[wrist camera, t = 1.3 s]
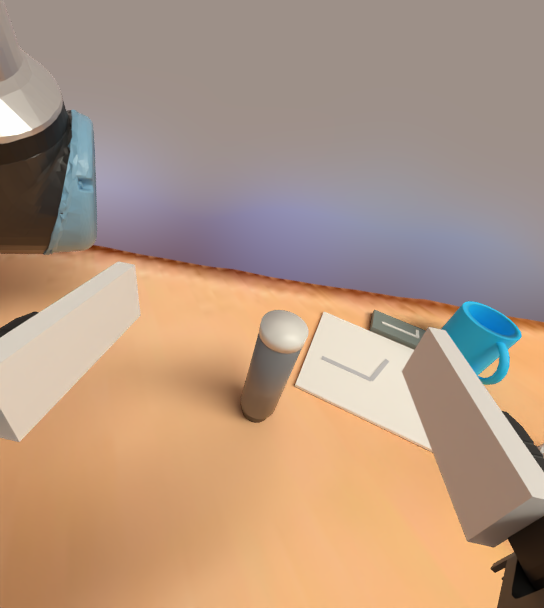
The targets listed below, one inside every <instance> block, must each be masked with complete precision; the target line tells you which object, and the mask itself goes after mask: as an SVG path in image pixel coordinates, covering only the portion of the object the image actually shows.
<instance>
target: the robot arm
mask: <svg viewBox="0 0 544 608" xmlns="http://www.w3.org/2000/svg"><path fill="white" fill-rule="evenodd" d="M96 203H97V202H96V173H95V148H94V132H93V123H92V121H91V120H90V118H89V117H87V116H85V115H83V114H80V113H78V112H77V111H75V110H69V111H66V109H65V106H64V102H63V98H62V94H61V91H60V89H59V87H58V84H57V82H56V80H55V79H54V77H53V76H52V75H51V73H49V71H48V70H47V69H46V68H45V67H43V66H42V65H41V64H40V63H39V62H37V61H36V60H35V59H33V58H32V57H31V56H30V55H28V54H27V53H26V52H25V51H23V50H22V49H21V48H20V47H19V45H18V42H17V39H16V36H15V33H14V30H13V27H12V25H11V21H10V18H9V15H8V12H7V10H6V7H5V4H4V1H3V0H0V254H44V255H50V254H52V253H54V252H73V251H83V250H86V249H88V248H90V247H91V246H92V245H93V244H94V243H95V241H96V237H97V204H96ZM139 316H140V306H139V297H138V288H137V279H136V269H135V265H133V264H128V263H123V262H117V263H115V264H113V265H112V266H110V267H109V268H107V269H106V270H104V271H103V272H101V273H100V274H98V275H96V276H95V277H93V278H92V279H90V280H89V281H87V282H86V283H84V284H83V285H81V286H79V287H78V288H76V289H75V290H73V291H72V292H70V293H69V294H67V295H65V296H64V297H62V298H61V299H59V300H58V301H56V302H55V303H53V304H52V305H50V306H48V307H47V308H45V309H44V310H42V311H41V312H32V313H30V314H27V315H24V316H22V317H19V318H16V319H14V320H13V321H11V322H9V323H8V324H6V325H5V326H3V327H1V328H0V438H4V439H8V440H13V441H17V442H20V441H21V440H22V439H23V438H24V437H25V436H26V435H27V434H28V433H29V432H30V430H31V429H32V428H33V427H34V426H35V425H36V424H37V423H38V422H39V421H40V420H41V419H42V418H43V417H44V416H45V415H46V414H47V413H48V412H49V411H50V410H51V409H52V407H53V406H54V405H55V404H56V403H57V402H58V401H59V400H60V399H61V398H62V397H63V396H64V395H65V394H66V393H67V392H68V391H69V390H70V389H71V388H72V387H73V386H74V384H75V383H76V382H77V381H78V380H79V379H80V378H81V377H82V376H83V375H84V374H85V373H86V372H87V371H88V370H89V369H90V368H91V367H92V366H93V365H94V364H95V363H96V361H97V360H98V359H99V358H100V357H101V356H102V355H103V354H104V353H105V352H106V351H107V350H108V349H109V348H110V347H111V346H112V345H113V344H114V343H115V342H116V341H117V339H118V338H119V337H120V336H121V335H122V334H123V333H124V332H125V331H126V330H127V329H128V328H129V327H130V326H131V325H132V324H133V323H134V322H135V321H136V320H137V319H138V318H139ZM402 373H403V376H404V378H405V381H406V384H407V386H408V389H409V391H410V394H411V397H412V399H413V402H414V404H415V407H416V410H417V412H418V415H419V417H420V420H421V423H422V425H423V428H424V430H425V433H426V436H427V438H428V441H429V443H430V446H431V449H432V451H433V454H434V456H435V459H436V462H437V464H438V467H439V469H440V472H441V475H442V477H443V480H444V482H445V485H446V488H447V490H448V493H449V495H450V498H451V501H452V503H453V506H454V509H455V511H456V514H457V516H458V519H459V522H460V524H461V527H462V529H463V532H464V535H465V537H466V540H467V541H468V542H472V543H477V544H481V545H486V546H490V547H495V546H497V545H499V544H500V543H502V542H504V541H505V540H507V539H508V540H509V542H510V544H511V546H512V548H513V550H514V553H512V554H510V555H508V556H506V557H505V558H503V559H501V560H499V561H497V562H496V563H494V564H493V566H492V567H491V570H492V571H493V572H495V573H496V572H498V571H499V570H501V569H503V568H505V573H504V577H502V580H503V582H502V587H501V592H500V597H499V601H498V606H497V608H544V458H543V454H542V453H541V452H540V450H539V449H538V448H537V446H535V445H534V442H533V441H532V439H531V438H530V437H529V435H528V434H527V432H526V431H525V430H524V428H523V427H522V426H521V425H520V424H519V423H518V422H517V421H516V420H515V419H514V418H512V417H511V416H510V415H509V414H508V413H507V412H504V411H501V410H500V408H499V407H498V405H497V404H496V402H495V401H494V400H493V398H492V397H491V395H490V394H489V392H488V391H487V389H486V388H485V387H484V385H483V384H482V382H481V381H480V379H479V378H478V376H477V375H476V374H475V372H474V371H473V369H472V368H471V366H470V365H469V363H468V362H467V361H466V359H465V358H464V356H463V355H462V353H461V352H460V350H459V349H458V348H457V346H456V345H455V343H454V342H453V340H452V339H451V337H450V336H449V335H448V333H447V332H446V330H441V329H436V328H431V327H428V328H427V330H426V332H425V333H424V335H423V337H422V338H421V340H420V342H419V343H418V345H417V347H416V348H415V350H414V352H413V353H412V355H411V357H410V358H409V360H408V362H407V363H406V365H405V367H404V368H403V370H402Z"/></svg>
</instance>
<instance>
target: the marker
mask: <svg viewBox="0 0 544 608" xmlns="http://www.w3.org/2000/svg"><path fill="white" fill-rule="evenodd" d="M307 337H308V327H307V325H306V323H305V322H304V321H303V320H302V319H301V318H300V317H299V316H297V315H296V314H294V313H291V312H288V311H284V310H274V311H270V312H268V313H266V314H265V315H264V316H263V318H262V321H261V324H260V328H259V334H258V338H257V341H256V345H255V349H254V352H253V356H252V359H251V363H250V367H249V370H248V374H247V378H246V381H245V385H244V389H243V392H242V396H241V407H242V411H243V414H244V416H245V417H246V418H247V419H248V420H249V421H252V422H262V421H264V420H265V419H266V418H267V417H269V416H270V415H271V414H272V413H273V412H274V410H275V408H276V406H277V403H278V401H279V399H280V396H281V394H282V392H283V390H284V387H285V385H286V383H287V380H288V378H289V376H290V374H291V371H292V369H293V367H294V365H295V362H296V360H297V358H298V355H299V353H300V351H301V349H302V347H303V345H304V343H305V341H306V339H307Z"/></svg>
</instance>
